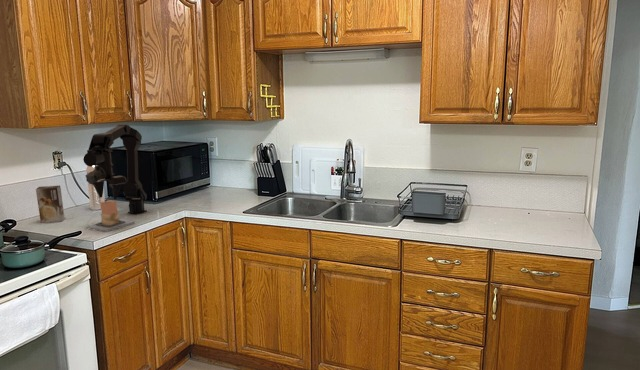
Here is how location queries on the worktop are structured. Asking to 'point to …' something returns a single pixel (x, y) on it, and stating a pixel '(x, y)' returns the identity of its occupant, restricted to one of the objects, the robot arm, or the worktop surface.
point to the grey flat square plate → (107, 228)
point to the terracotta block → (108, 207)
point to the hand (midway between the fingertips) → (108, 198)
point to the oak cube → (110, 219)
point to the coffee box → (50, 204)
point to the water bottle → (94, 193)
